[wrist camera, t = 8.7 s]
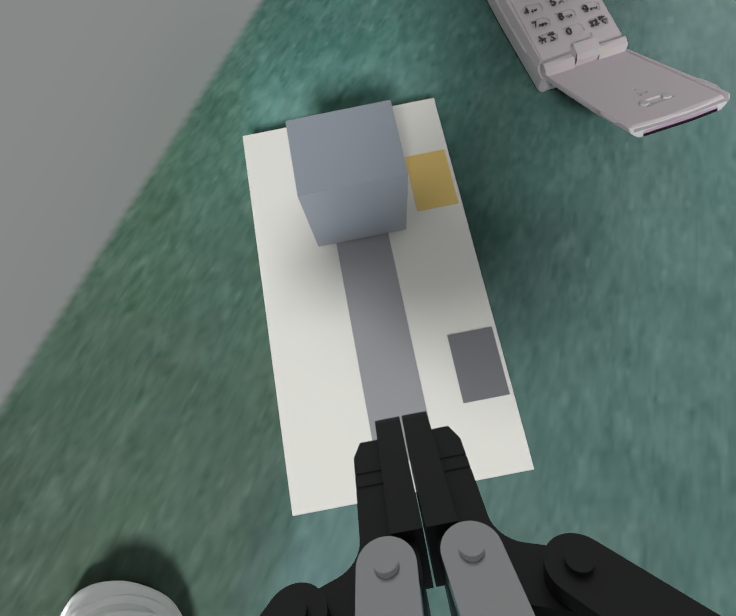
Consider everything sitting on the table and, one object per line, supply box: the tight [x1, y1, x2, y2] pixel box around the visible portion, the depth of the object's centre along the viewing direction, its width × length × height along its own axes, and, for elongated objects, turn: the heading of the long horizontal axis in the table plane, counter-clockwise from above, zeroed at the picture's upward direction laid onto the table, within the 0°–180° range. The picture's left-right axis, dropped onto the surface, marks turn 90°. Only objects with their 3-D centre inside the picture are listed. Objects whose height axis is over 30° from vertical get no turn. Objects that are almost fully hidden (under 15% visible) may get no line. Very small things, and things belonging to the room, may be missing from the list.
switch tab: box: [285, 100, 408, 247], centre depth 24 cm, size 5×4×6 cm
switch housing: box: [243, 98, 534, 516], centre depth 27 cm, size 12×22×2 cm, turn 11°
